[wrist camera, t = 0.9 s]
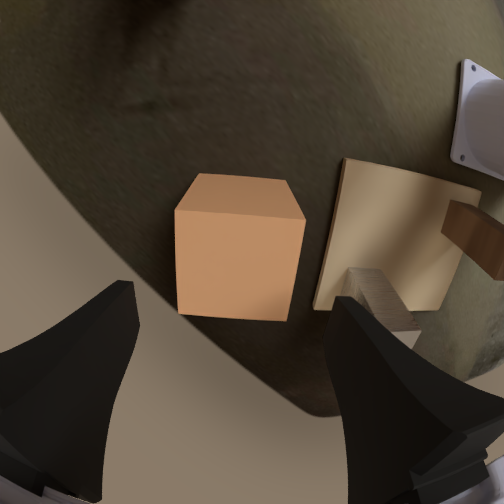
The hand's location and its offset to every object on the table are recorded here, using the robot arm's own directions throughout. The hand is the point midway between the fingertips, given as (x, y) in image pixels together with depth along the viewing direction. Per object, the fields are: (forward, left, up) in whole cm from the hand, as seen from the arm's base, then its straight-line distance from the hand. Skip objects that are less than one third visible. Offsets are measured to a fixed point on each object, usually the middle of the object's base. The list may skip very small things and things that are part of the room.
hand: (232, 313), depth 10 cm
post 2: (-16, -2, -9) cm, 19 cm away
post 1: (-9, +4, -9) cm, 14 cm away
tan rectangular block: (0, 0, -9) cm, 9 cm away
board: (-12, +1, -9) cm, 15 cm away
